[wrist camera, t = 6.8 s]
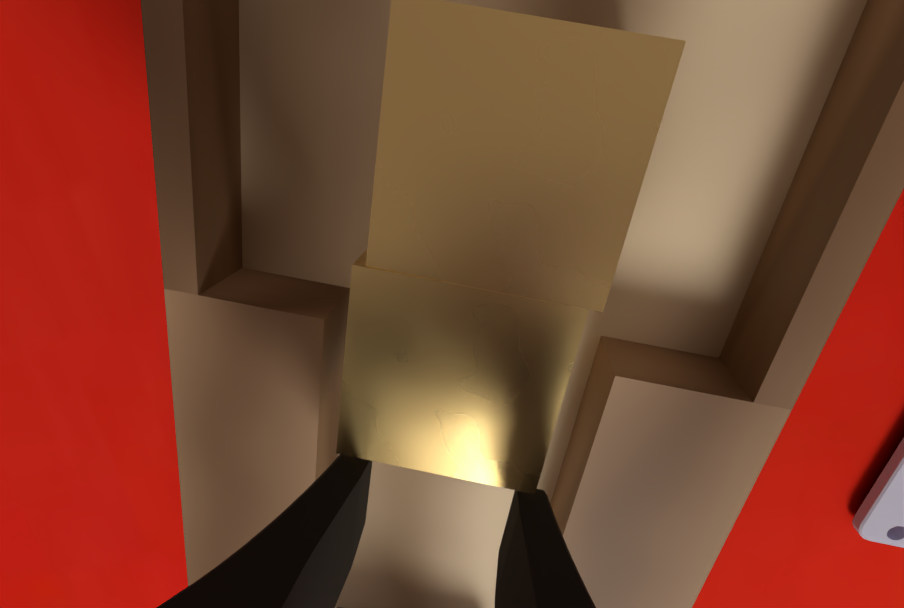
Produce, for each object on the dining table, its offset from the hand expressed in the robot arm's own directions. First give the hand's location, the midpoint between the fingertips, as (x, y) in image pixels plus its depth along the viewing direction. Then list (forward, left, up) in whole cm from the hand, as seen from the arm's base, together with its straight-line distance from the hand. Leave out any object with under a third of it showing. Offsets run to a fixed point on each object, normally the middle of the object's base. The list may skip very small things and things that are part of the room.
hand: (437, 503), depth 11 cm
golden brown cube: (0, -8, -3) cm, 8 cm away
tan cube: (0, -4, -3) cm, 5 cm away
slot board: (0, 0, -4) cm, 4 cm away
